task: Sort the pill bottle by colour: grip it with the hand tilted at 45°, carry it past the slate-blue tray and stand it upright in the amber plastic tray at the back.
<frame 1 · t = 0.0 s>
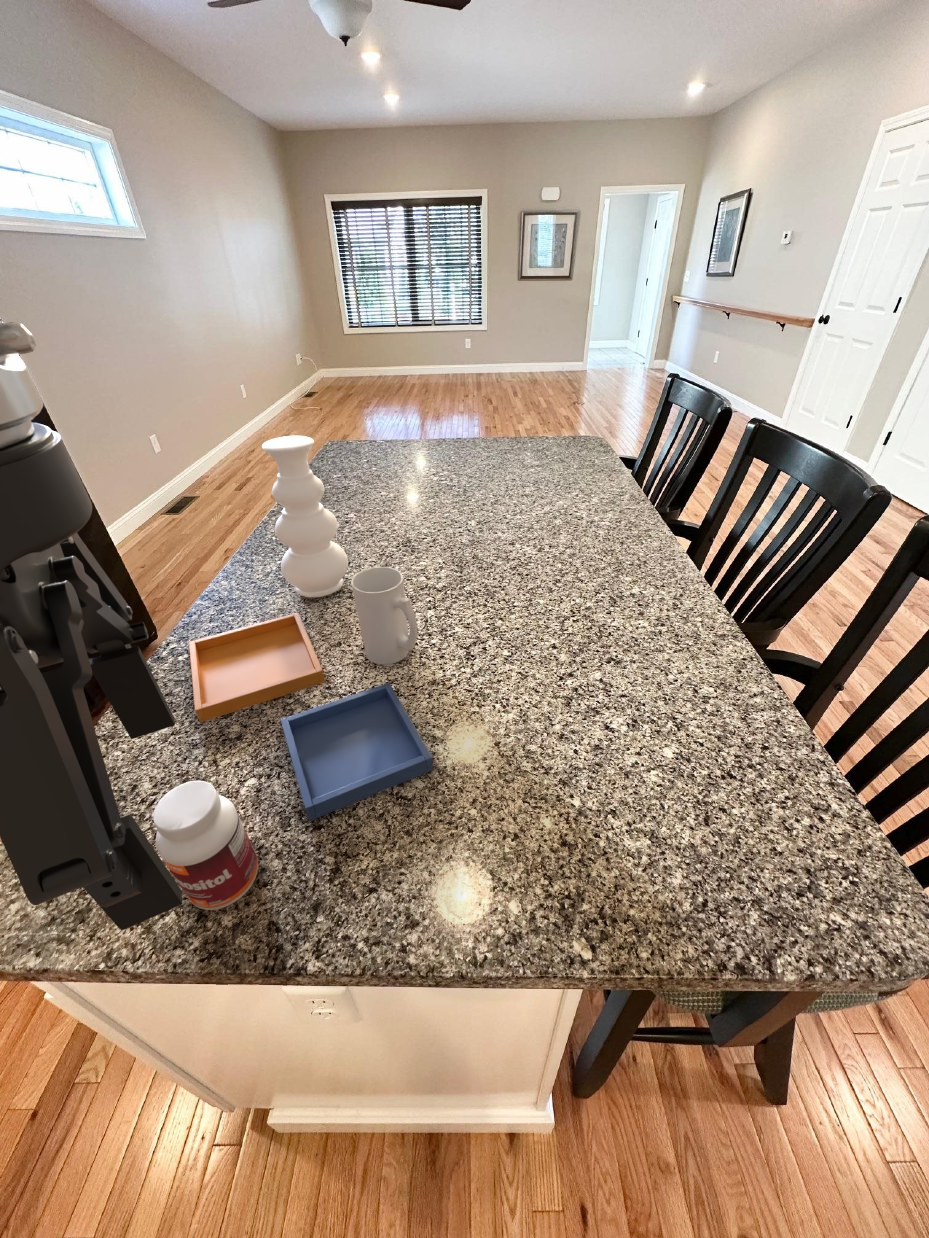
hand: (153, 804, 30), 20 cm above the countertop, tool pointing down, fingers open, 13 cm apart
pill bottle: (225, 879, 47), on the countertop
amber tray: (256, 667, 72), on the countertop
mug: (395, 656, 73), on the countertop
vase: (320, 588, 89), on the countertop
blue tray: (355, 749, 59), on the countertop
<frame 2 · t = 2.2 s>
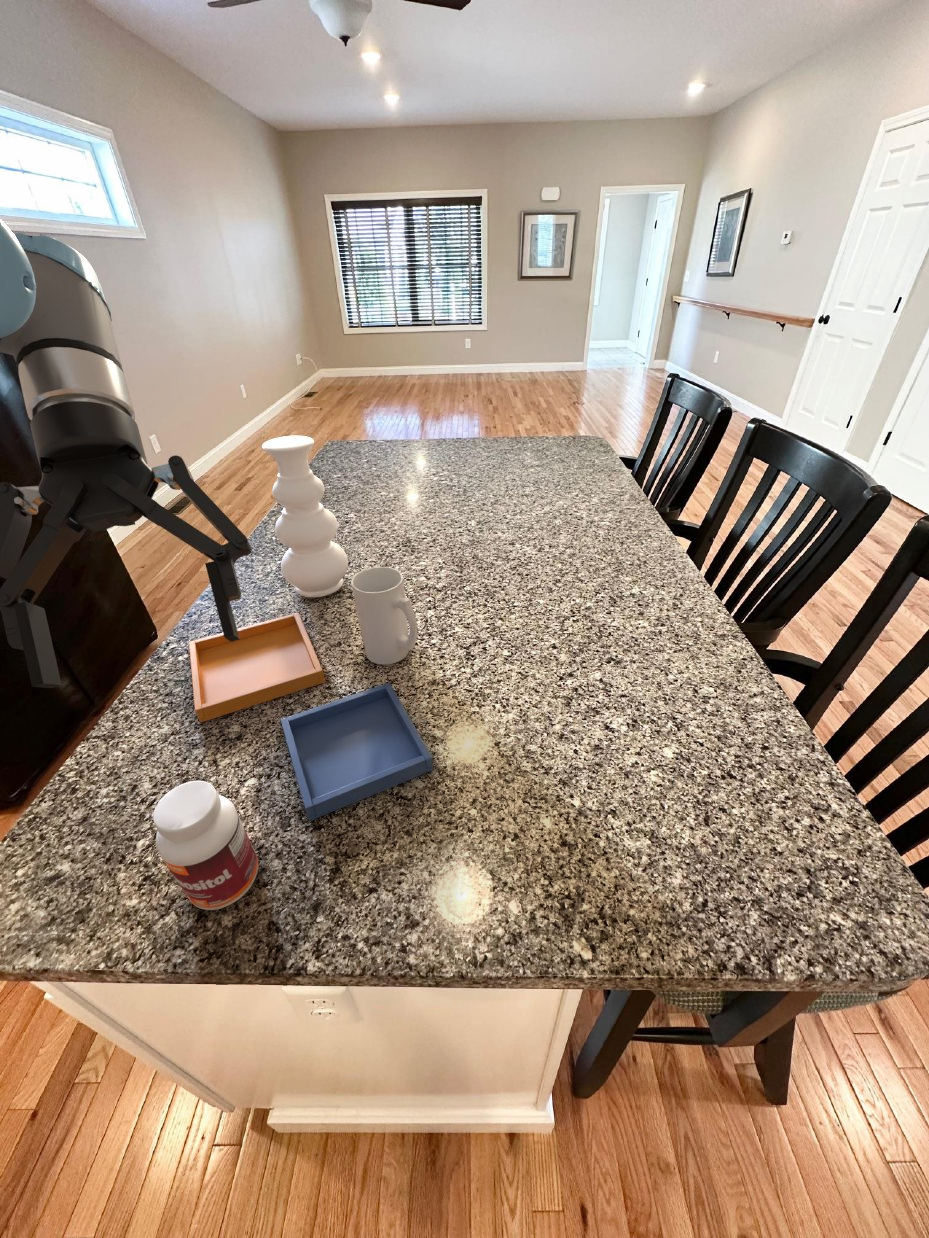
hand: (144, 661, 42), 20 cm above the countertop, tool tilted 45°, fingers open, 13 cm apart
nothing on the countertop moved.
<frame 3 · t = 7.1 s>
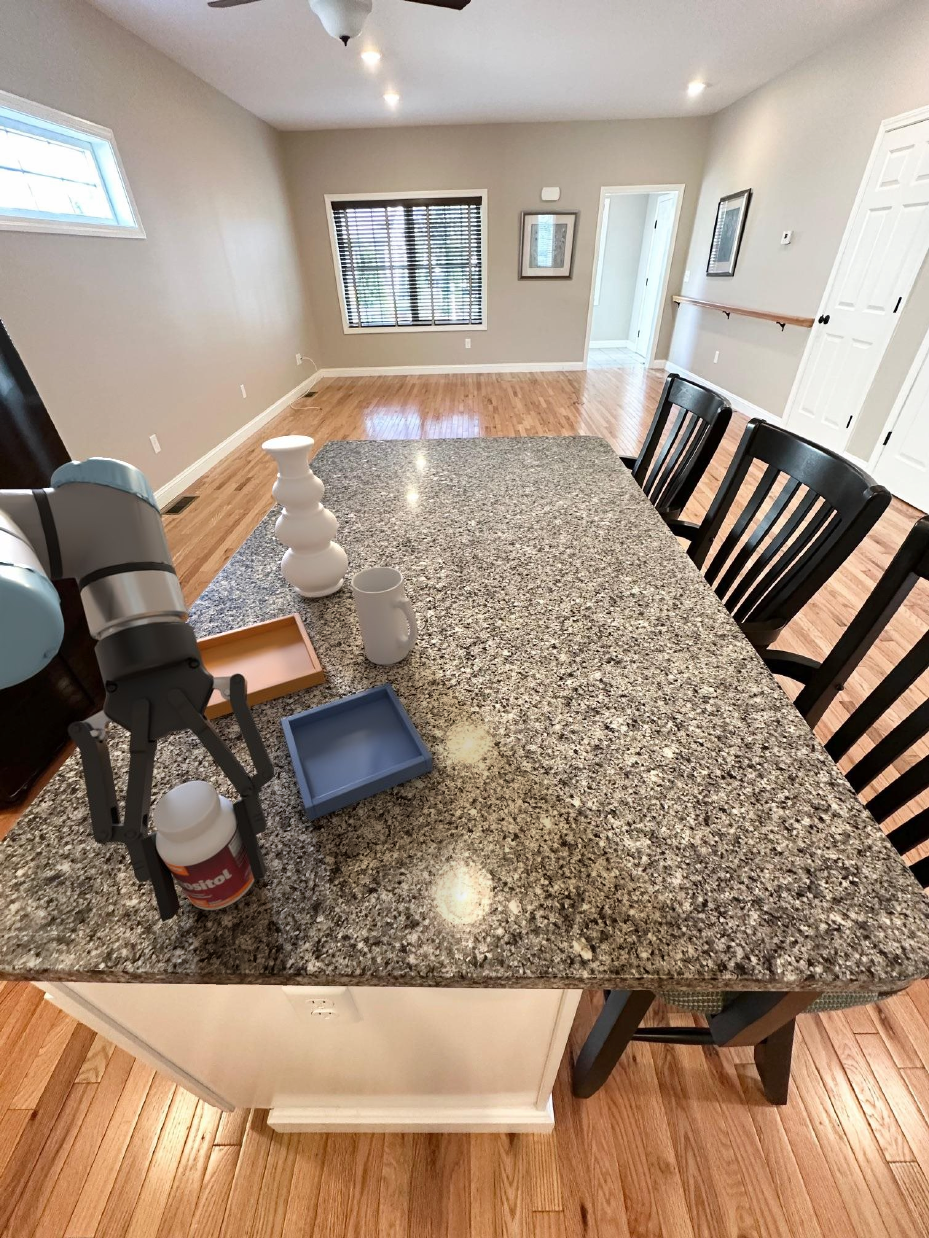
hand: (217, 894, 42), 3 cm above the countertop, tool tilted 45°, fingers closed on pill bottle, 6 cm apart
pill bottle: (225, 878, 47), on the countertop, touching gripper
everything else where it was.
when the fingers open (4 cm above the countertop, at t = 17.2 s): pill bottle stays where it is, resting on amber tray.
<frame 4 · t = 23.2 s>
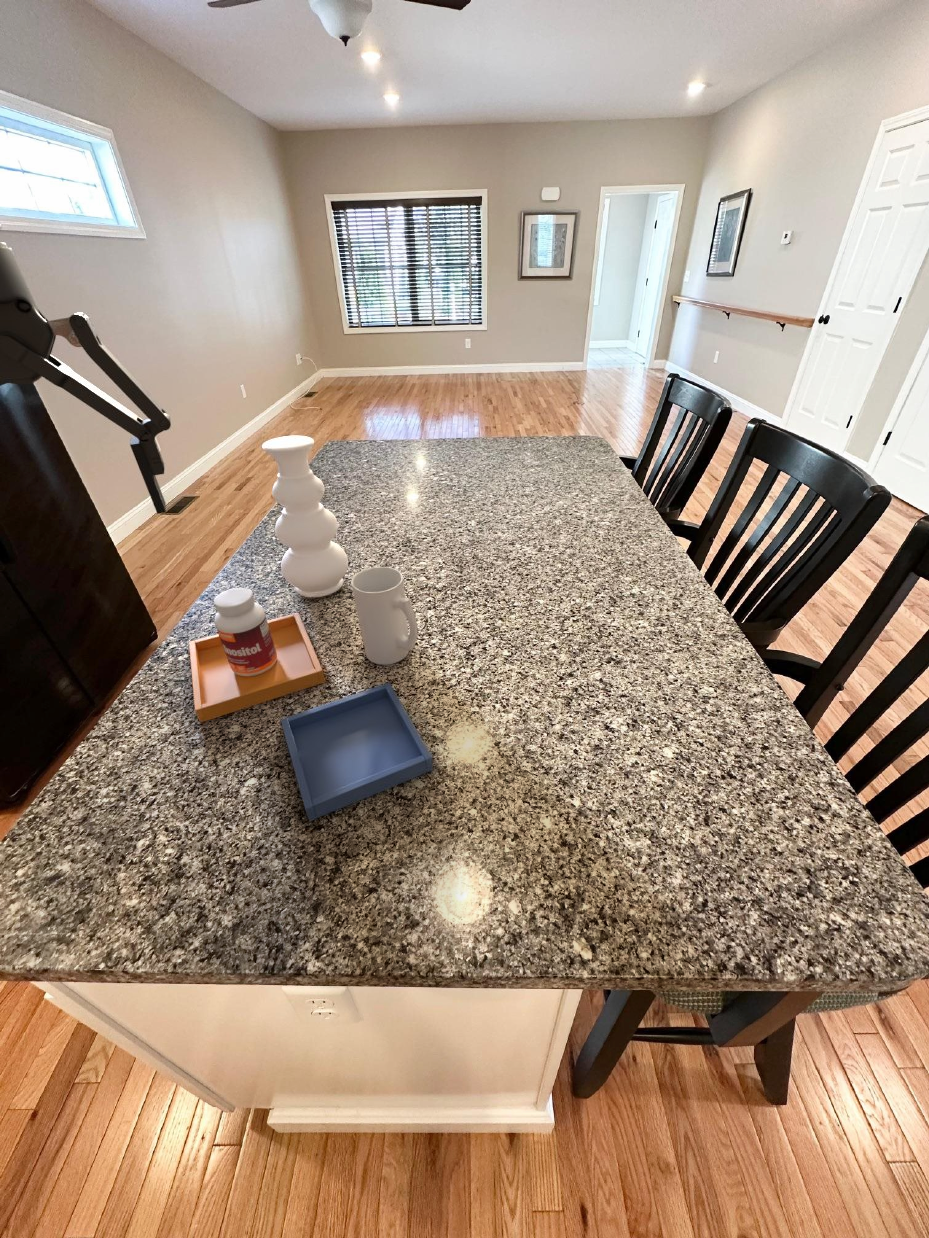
hand: (81, 523, 48), 27 cm above the countertop, tool pointing down, fingers open, 13 cm apart
pill bottle: (255, 664, 71), resting on amber tray
everything else where it was.
at the end: pill bottle inside the target area in the amber tray (0.0 cm from its centre), point 0.4 cm above the amber tray's base; pill bottle tilted 0°; the gripper is holding nothing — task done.
